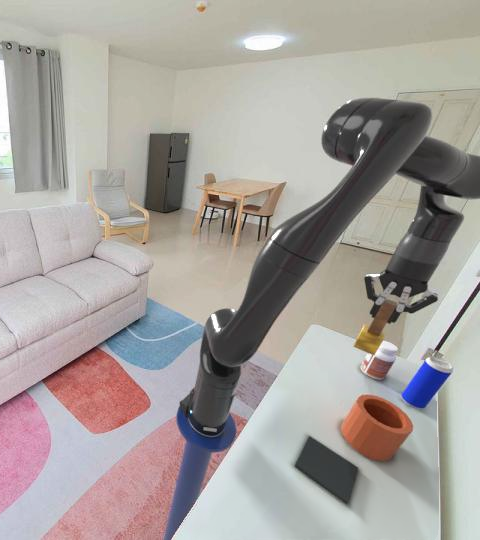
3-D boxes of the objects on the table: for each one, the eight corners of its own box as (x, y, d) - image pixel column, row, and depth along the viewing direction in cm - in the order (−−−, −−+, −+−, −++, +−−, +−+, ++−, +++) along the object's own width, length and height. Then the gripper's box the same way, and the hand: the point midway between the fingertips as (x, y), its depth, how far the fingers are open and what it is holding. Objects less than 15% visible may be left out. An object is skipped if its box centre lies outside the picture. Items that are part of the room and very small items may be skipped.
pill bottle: (389, 378, 90) (407, 351, 85) (373, 381, 89) (390, 354, 84) (370, 364, 96) (385, 337, 91) (355, 366, 94) (369, 339, 89)
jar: (336, 438, 72) (352, 411, 68) (346, 413, 79) (361, 387, 74) (388, 470, 66) (410, 443, 61) (394, 441, 72) (415, 414, 68)
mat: (294, 466, 66) (295, 464, 66) (308, 437, 72) (309, 435, 72) (346, 504, 60) (347, 502, 59) (357, 468, 66) (358, 467, 66)
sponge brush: (353, 346, 76) (377, 301, 70) (356, 339, 79) (380, 295, 73) (374, 355, 74) (401, 309, 67) (376, 347, 76) (403, 302, 70)
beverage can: (425, 402, 83) (454, 363, 76) (423, 413, 80) (455, 373, 73) (401, 391, 86) (428, 352, 79) (399, 401, 83) (427, 362, 76)
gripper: (375, 249, 66) (344, 312, 74) (463, 271, 58) (417, 340, 66) (379, 242, 71) (350, 301, 79) (461, 261, 62) (419, 326, 70)
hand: (381, 319), depth 72 cm, fingers closed on sponge brush, 2 cm apart
